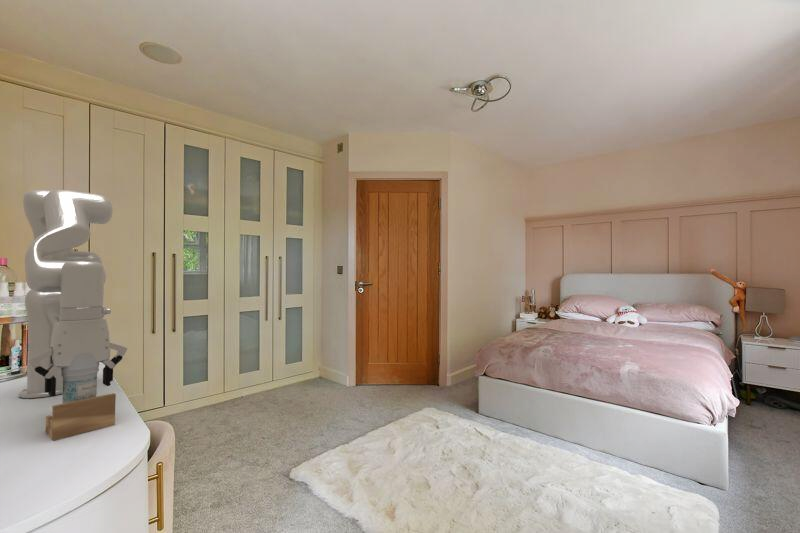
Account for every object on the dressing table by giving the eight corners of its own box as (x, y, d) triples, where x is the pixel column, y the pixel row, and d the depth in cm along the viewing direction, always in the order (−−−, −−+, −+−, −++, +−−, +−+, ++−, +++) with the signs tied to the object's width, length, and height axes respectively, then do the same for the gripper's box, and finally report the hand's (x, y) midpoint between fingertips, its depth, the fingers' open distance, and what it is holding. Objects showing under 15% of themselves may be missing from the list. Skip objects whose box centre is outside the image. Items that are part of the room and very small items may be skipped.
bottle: (75, 433, 80) (77, 341, 81) (51, 431, 82) (53, 340, 82) (105, 422, 87) (107, 336, 87) (82, 420, 88) (84, 336, 89)
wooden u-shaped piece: (45, 431, 81) (46, 399, 82) (104, 417, 90) (105, 388, 90) (52, 440, 77) (53, 406, 77) (114, 424, 85) (115, 394, 85)
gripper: (122, 311, 94) (120, 378, 93) (26, 317, 80) (23, 396, 80) (132, 312, 89) (130, 384, 89) (32, 319, 76) (30, 403, 75)
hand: (80, 389), depth 84 cm, fingers open, 9 cm apart
